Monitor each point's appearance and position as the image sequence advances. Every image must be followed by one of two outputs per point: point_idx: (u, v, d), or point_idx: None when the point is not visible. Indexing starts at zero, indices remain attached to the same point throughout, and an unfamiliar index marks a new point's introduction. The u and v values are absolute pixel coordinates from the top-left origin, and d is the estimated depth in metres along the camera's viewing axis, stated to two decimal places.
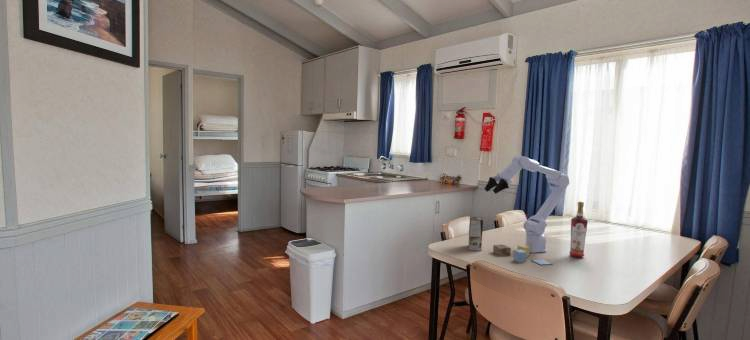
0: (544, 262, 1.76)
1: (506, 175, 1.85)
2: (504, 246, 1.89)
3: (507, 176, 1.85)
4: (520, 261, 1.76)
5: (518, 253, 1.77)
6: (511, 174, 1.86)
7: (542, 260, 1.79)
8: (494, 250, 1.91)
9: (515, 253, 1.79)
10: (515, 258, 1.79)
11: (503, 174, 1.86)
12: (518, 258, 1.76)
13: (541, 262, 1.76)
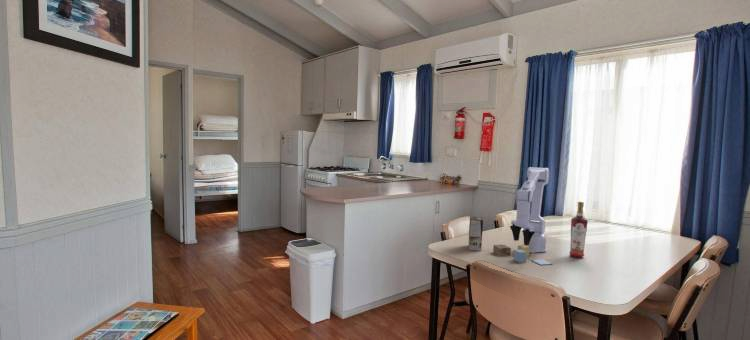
0: (544, 262, 1.76)
1: (523, 221, 1.74)
2: (504, 246, 1.89)
3: (525, 221, 1.74)
4: (520, 261, 1.76)
5: (518, 253, 1.77)
6: (526, 216, 1.74)
7: (542, 260, 1.79)
8: (494, 250, 1.91)
9: (515, 253, 1.79)
10: (515, 258, 1.79)
11: (520, 222, 1.75)
12: (518, 258, 1.76)
13: (541, 262, 1.76)
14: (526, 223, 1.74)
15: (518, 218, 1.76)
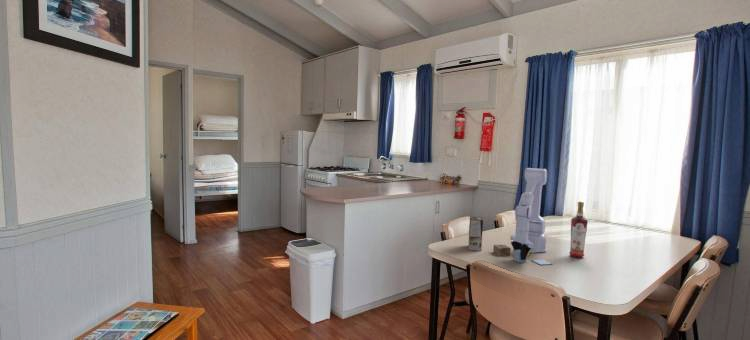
0: (544, 262, 1.76)
1: (522, 237, 1.75)
2: (504, 246, 1.89)
3: (524, 237, 1.75)
4: (520, 261, 1.76)
5: (518, 253, 1.77)
6: (525, 232, 1.75)
7: (542, 260, 1.79)
8: (494, 250, 1.91)
9: (515, 253, 1.79)
10: (515, 258, 1.79)
11: (519, 238, 1.75)
12: (518, 258, 1.76)
13: (541, 262, 1.76)
14: (525, 239, 1.75)
15: (517, 234, 1.76)
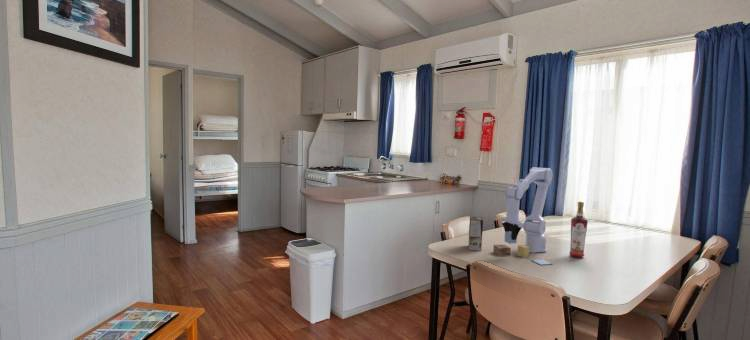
0: (544, 262, 1.76)
1: (513, 217, 1.80)
2: (504, 246, 1.89)
3: (514, 217, 1.80)
4: (510, 242, 1.81)
5: (508, 234, 1.82)
6: (516, 213, 1.80)
7: (542, 260, 1.79)
8: (494, 250, 1.91)
9: (506, 234, 1.84)
10: (506, 239, 1.84)
11: (510, 218, 1.81)
12: (508, 239, 1.82)
13: (541, 262, 1.76)
14: (515, 219, 1.80)
15: (508, 215, 1.81)
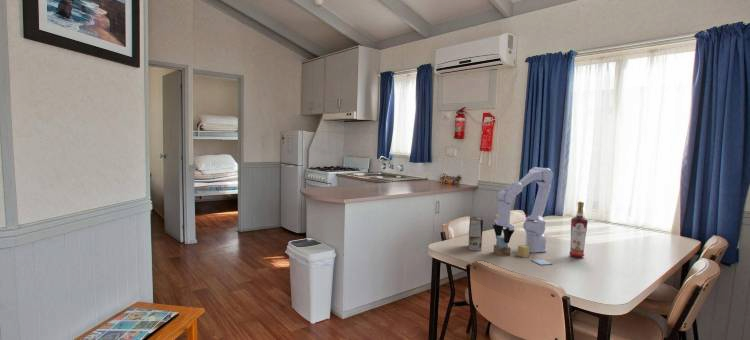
0: (544, 262, 1.76)
1: (504, 221, 1.85)
2: None
3: (505, 221, 1.85)
4: (502, 246, 1.87)
5: (500, 238, 1.87)
6: (507, 216, 1.85)
7: (542, 260, 1.79)
8: (494, 250, 1.91)
9: (497, 239, 1.89)
10: (497, 243, 1.89)
11: (501, 221, 1.86)
12: (500, 243, 1.87)
13: (541, 262, 1.76)
14: (507, 222, 1.85)
15: (499, 218, 1.87)
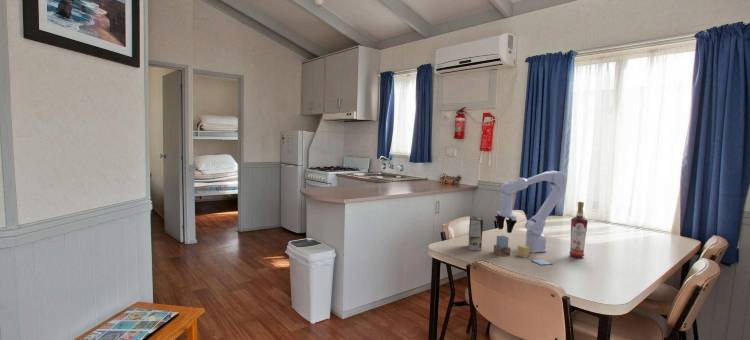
0: (544, 262, 1.76)
1: (506, 211, 1.93)
2: None
3: (508, 211, 1.93)
4: (502, 246, 1.87)
5: (500, 238, 1.87)
6: (509, 207, 1.93)
7: (542, 260, 1.79)
8: (494, 250, 1.91)
9: (497, 239, 1.89)
10: (497, 243, 1.89)
11: (504, 212, 1.94)
12: (500, 243, 1.87)
13: (541, 262, 1.76)
14: (509, 213, 1.93)
15: (502, 208, 1.95)
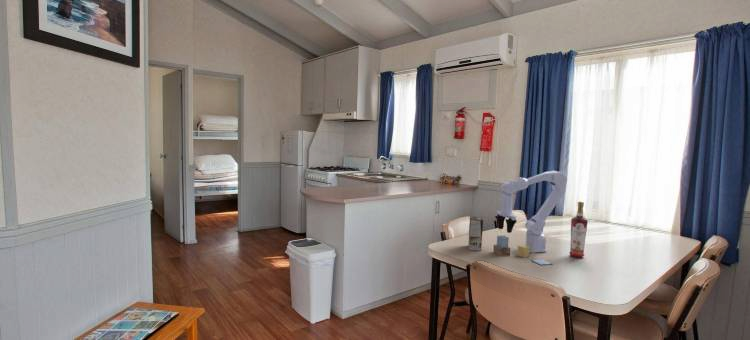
0: (544, 262, 1.76)
1: (506, 211, 1.93)
2: None
3: (508, 211, 1.93)
4: (502, 246, 1.87)
5: (500, 238, 1.87)
6: (509, 207, 1.93)
7: (542, 260, 1.79)
8: (494, 250, 1.91)
9: (498, 239, 1.90)
10: (498, 243, 1.90)
11: (504, 212, 1.94)
12: (500, 243, 1.87)
13: (541, 262, 1.76)
14: (509, 213, 1.93)
15: (502, 208, 1.95)
